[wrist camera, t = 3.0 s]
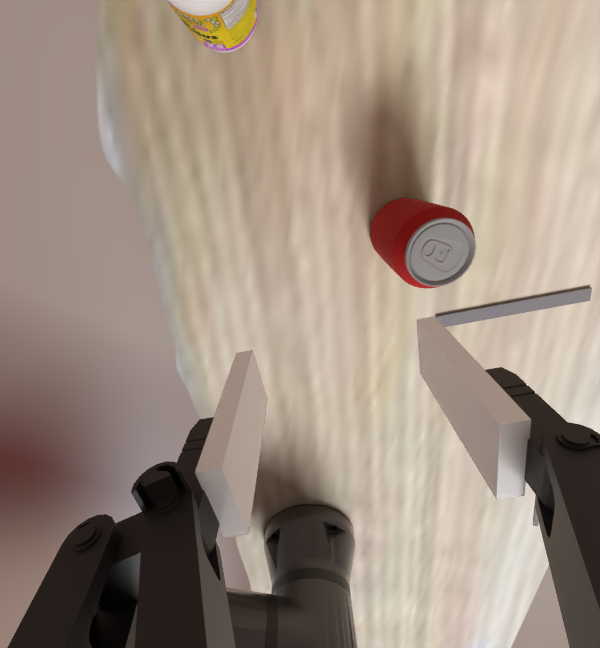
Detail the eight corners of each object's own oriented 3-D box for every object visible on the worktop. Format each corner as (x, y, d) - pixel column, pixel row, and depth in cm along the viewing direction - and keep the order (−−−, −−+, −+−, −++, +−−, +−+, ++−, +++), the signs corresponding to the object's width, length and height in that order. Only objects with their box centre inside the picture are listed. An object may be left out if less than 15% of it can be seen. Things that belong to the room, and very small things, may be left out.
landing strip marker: (436, 327, 42) (437, 328, 42) (435, 315, 41) (436, 316, 41) (587, 299, 41) (589, 300, 40) (589, 287, 40) (591, 288, 40)
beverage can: (411, 268, 39) (455, 306, 28) (358, 247, 38) (382, 278, 27) (441, 211, 36) (503, 227, 25) (385, 187, 35) (423, 193, 24)
